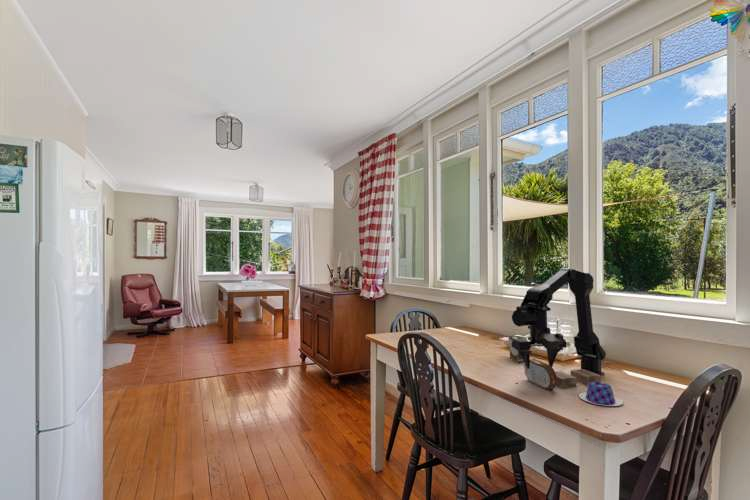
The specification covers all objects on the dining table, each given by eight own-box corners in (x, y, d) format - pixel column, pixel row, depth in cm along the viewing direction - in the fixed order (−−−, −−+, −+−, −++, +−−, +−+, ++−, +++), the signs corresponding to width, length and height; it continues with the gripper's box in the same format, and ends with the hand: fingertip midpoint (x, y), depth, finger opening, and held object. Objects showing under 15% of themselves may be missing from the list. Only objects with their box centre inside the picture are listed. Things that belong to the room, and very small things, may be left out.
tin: (558, 392, 124) (557, 367, 124) (550, 393, 123) (549, 367, 124) (530, 378, 139) (529, 356, 139) (523, 379, 138) (522, 356, 138)
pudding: (582, 391, 125) (582, 376, 125) (625, 399, 118) (624, 383, 118) (575, 402, 116) (574, 385, 116) (620, 411, 108) (620, 393, 109)
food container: (533, 364, 158) (532, 340, 158) (518, 364, 158) (518, 340, 158) (522, 356, 170) (521, 335, 171) (508, 356, 170) (508, 335, 171)
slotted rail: (584, 377, 140) (583, 369, 140) (601, 383, 132) (600, 375, 132) (547, 380, 136) (546, 372, 136) (562, 387, 128) (562, 378, 129)
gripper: (529, 329, 122) (530, 376, 122) (577, 326, 126) (578, 372, 125) (510, 323, 133) (511, 367, 132) (555, 321, 137) (556, 363, 136)
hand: (539, 367), depth 131 cm, fingers open, 9 cm apart
